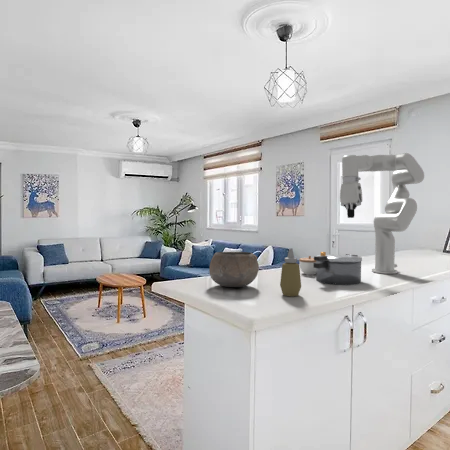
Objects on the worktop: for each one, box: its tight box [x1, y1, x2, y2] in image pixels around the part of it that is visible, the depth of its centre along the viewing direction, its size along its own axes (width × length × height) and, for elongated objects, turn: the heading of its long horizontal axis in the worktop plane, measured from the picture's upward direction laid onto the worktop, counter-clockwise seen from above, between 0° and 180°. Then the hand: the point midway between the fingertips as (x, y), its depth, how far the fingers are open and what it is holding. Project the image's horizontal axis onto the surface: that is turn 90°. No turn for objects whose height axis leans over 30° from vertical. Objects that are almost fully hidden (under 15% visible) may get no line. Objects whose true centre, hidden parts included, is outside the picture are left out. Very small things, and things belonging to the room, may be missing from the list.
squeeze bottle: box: [279, 248, 302, 297], centre depth 138 cm, size 8×8×18 cm
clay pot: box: [208, 251, 260, 288], centre depth 153 cm, size 21×21×15 cm
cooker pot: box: [314, 261, 362, 286], centre depth 166 cm, size 26×20×10 cm
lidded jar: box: [298, 255, 316, 276], centre depth 187 cm, size 11×11×9 cm
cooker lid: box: [313, 251, 363, 263], centre depth 166 cm, size 27×21×3 cm
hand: (350, 217), depth 178 cm, fingers closed
